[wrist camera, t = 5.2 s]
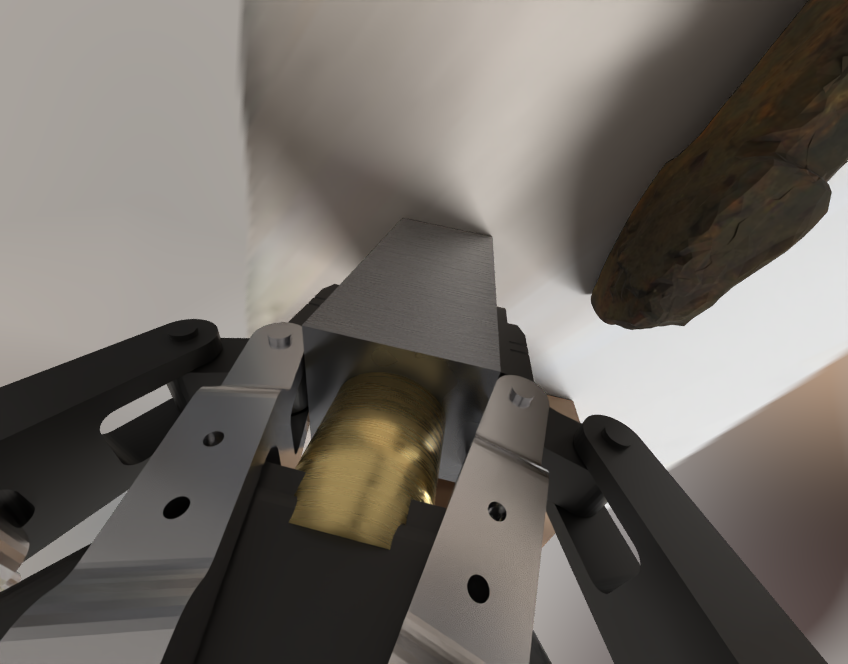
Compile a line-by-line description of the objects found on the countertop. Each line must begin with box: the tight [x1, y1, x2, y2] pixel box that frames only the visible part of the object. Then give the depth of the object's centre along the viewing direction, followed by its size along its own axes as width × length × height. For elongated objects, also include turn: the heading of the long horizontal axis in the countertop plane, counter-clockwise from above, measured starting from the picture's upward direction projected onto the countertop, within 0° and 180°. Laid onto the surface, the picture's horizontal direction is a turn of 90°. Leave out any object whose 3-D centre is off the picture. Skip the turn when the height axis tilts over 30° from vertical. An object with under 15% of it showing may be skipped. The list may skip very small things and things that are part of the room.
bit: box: [289, 218, 501, 550], centre depth 10 cm, size 4×4×12 cm
